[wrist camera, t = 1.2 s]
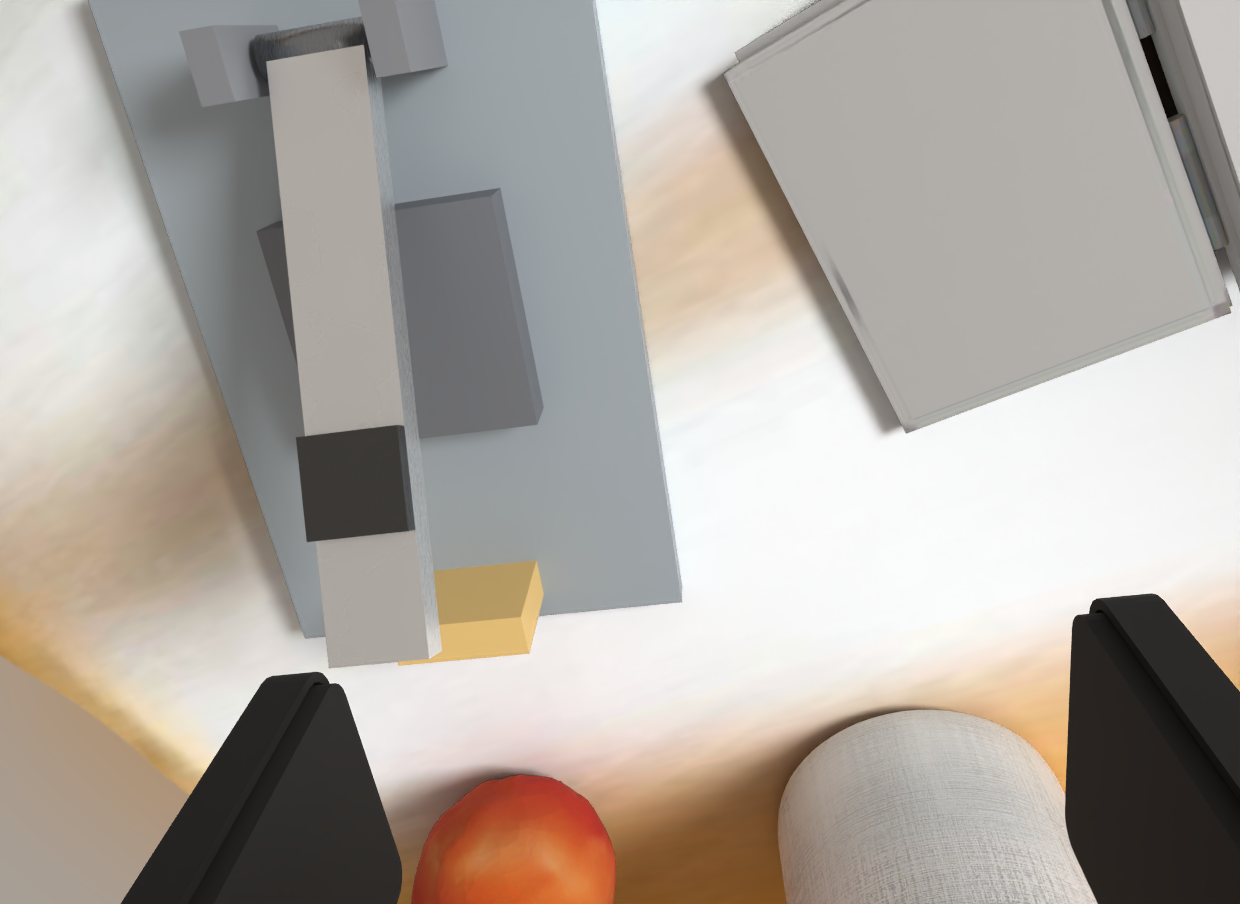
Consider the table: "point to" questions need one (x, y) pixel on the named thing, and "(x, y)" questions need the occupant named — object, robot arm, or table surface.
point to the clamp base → (560, 254)
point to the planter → (927, 817)
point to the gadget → (1004, 179)
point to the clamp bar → (351, 346)
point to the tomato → (517, 848)
